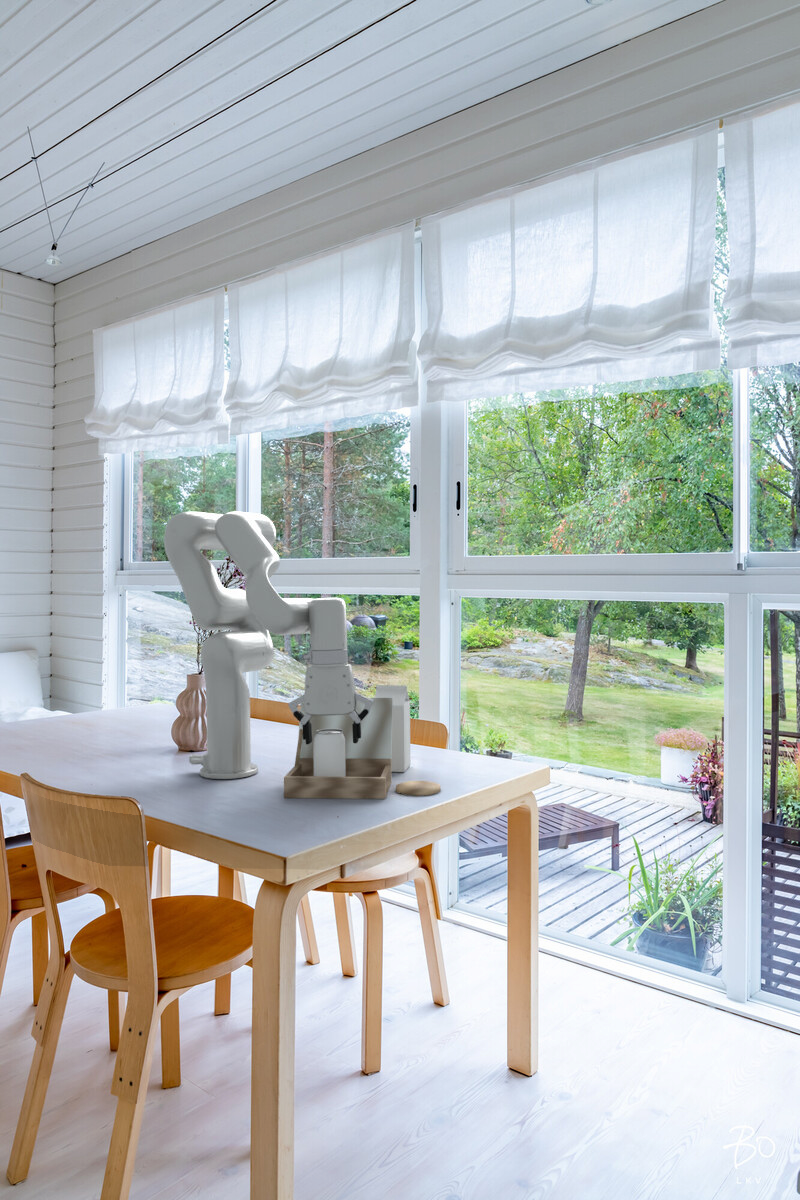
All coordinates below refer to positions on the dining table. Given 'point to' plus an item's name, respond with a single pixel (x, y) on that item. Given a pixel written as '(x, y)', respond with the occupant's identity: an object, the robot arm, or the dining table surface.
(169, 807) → the dining table surface
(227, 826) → the dining table surface
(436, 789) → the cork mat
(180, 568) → the robot arm
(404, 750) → the milk carton
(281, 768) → the dining table surface
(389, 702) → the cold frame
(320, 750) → the can
